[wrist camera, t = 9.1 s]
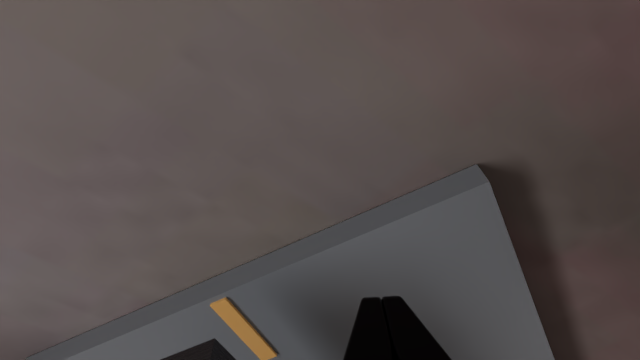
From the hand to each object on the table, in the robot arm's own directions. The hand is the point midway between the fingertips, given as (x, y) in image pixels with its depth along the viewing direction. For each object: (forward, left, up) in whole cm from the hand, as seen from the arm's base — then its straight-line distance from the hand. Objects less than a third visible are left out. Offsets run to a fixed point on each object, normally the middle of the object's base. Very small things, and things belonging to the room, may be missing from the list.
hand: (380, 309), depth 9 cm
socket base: (-10, +5, -4) cm, 12 cm away
